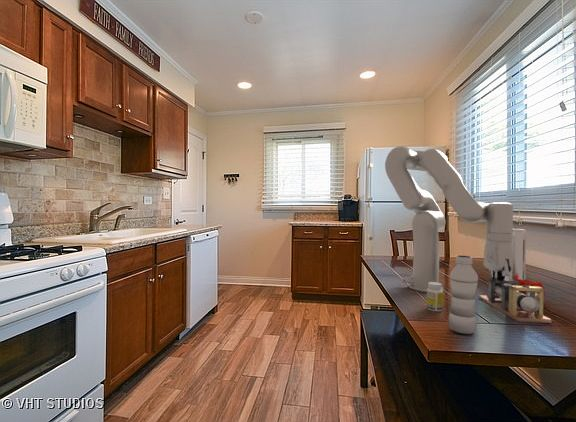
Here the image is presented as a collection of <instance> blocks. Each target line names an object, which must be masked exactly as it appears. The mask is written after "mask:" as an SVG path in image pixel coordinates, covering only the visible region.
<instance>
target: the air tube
mask: <svg viewBox="0 0 576 422" xmlns="http://www.w3.org/2000/svg"><path fill="white" fill-rule="evenodd" d="M502 285H503V284H498V285H496V286H495V295H496V296H498V297H500V298H502ZM517 307H519V308H520V309H522V310H524V311H526V312H529V313H534V312H536V311H538V309H539V307H540V304H539V302H538V301H537V300H536V299H535V298H533V297H531V296H529V295H525V294H523V293H521V292H519V291H517Z"/></svg>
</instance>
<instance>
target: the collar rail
mask: <svg viewBox="0 0 576 422" xmlns="http://www.w3.org/2000/svg"><path fill="white" fill-rule="evenodd" d="M495 283H502V284H511V285H502V298H500V297H498V296H496V295H495ZM517 291H526V295H529V296H531V297H533V298H534V291H535V299H536V300H537V301H538V302H539V304H540V307H539V309H538V311H536V312H534V313H529V312H526V311H524V310H522V309H520V308H519V307H517ZM544 291H545V288H541V287H539V286H525V285H523V286H518V281H516V280H497V279H492V278H489V279H488V293H486V294H485V295H484V294H482V295H481V294H478V299H479V300H482V301H483V302H485V303H486V304H488V305H490V306H492V307H493V308H494V309H497V310H498V311H500V312H501V313H503V314H505V315H507V316H508V317H510V318H511V319H513V320H514V321H517V322H527V323H528V322H529V323H542V324H543V323H546V324H552V319H551V318H549V317H548V316H545V315H544V299H543V294H544Z"/></svg>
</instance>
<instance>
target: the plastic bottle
mask: <svg viewBox="0 0 576 422" xmlns="http://www.w3.org/2000/svg"><path fill="white" fill-rule="evenodd" d="M472 265H473V257H472V256H470V255H462V254H461V255H456V256H455V266H454V267H453V268H452V269H451V271H450V274H449V280H450V289H451V292H450V293H451V301H450V303H451V304H450V308H449V310H450V311H449V315H448V326H449V328H450V329H451V330H452V331H453V332H455V333H458V334H464V335H472V334H474V333H475V332H476V331H477V328H478V321H477V320H478V319H477V316H476V314H477V313H476V294H477V293H476V292H477V288H478V282H479V276H478V274H477V272H476V271H475V269H474V268H473V266H472Z"/></svg>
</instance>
